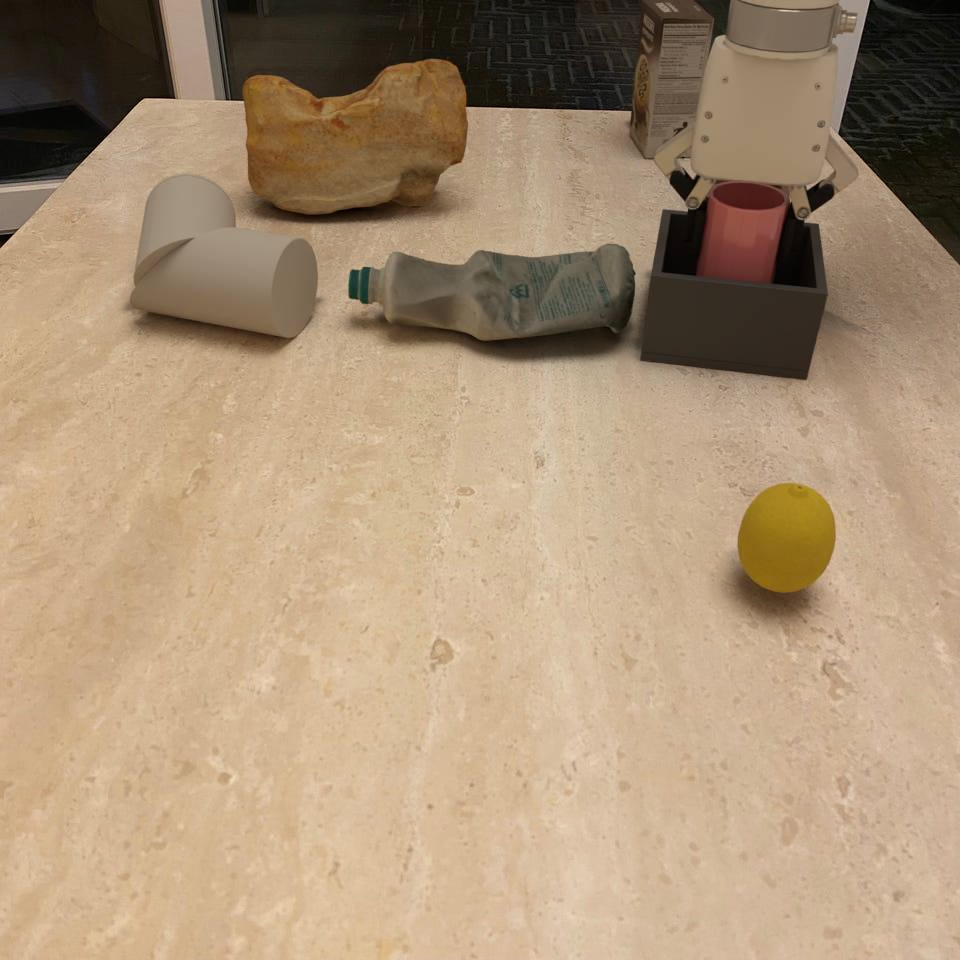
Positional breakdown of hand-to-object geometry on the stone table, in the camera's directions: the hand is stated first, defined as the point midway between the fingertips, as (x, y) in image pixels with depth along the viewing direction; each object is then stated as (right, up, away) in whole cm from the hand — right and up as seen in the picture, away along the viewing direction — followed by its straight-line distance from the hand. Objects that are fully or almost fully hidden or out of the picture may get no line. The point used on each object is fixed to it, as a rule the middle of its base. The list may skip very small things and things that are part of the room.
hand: (738, 252), depth 84 cm
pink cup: (0, -3, +2) cm, 4 cm away
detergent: (-20, -5, +5) cm, 22 cm away
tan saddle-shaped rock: (-35, +13, +29) cm, 47 cm away
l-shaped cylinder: (-46, -2, +9) cm, 46 cm away
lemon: (-3, -26, -21) cm, 34 cm away
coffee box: (+1, +23, +42) cm, 47 cm away
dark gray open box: (0, -6, +5) cm, 7 cm away
